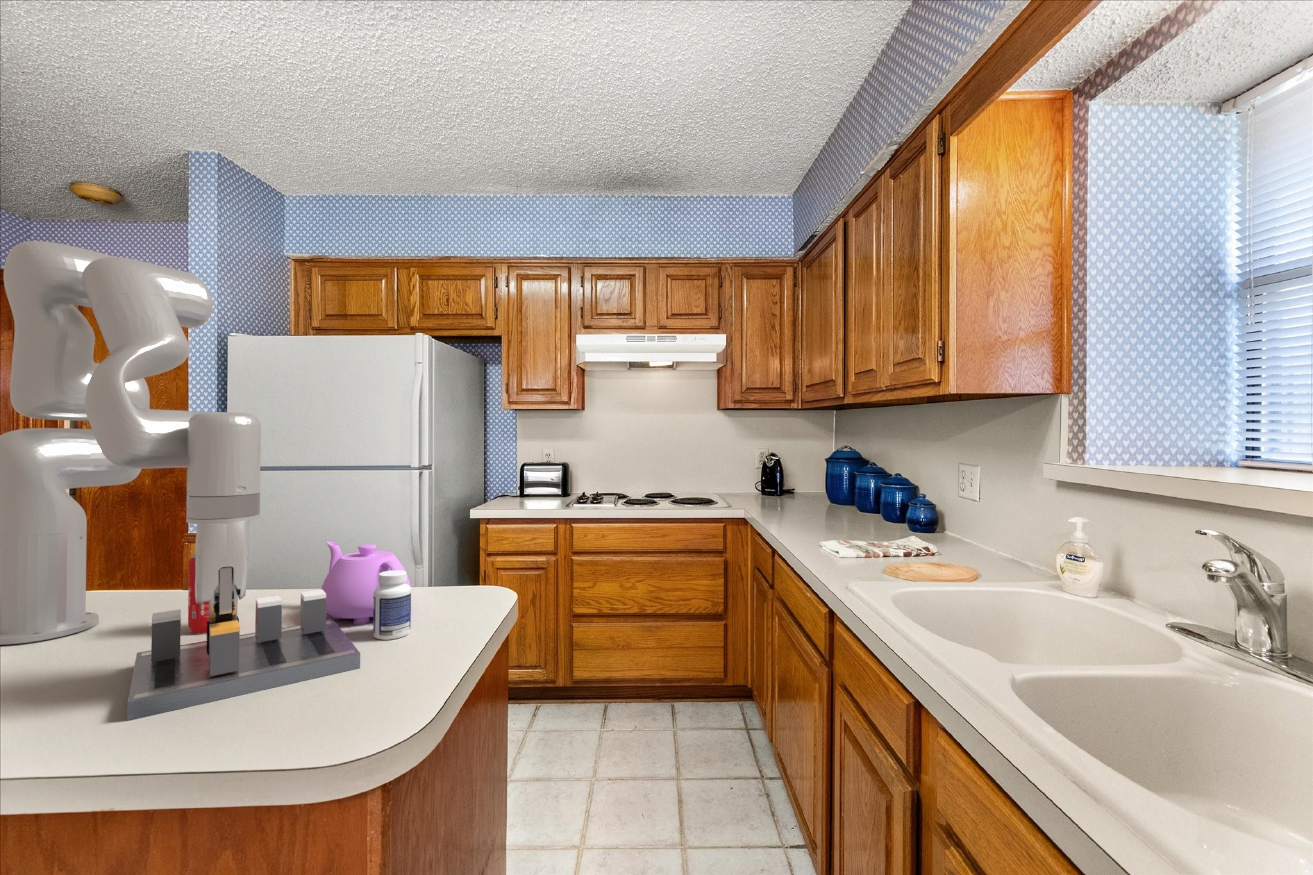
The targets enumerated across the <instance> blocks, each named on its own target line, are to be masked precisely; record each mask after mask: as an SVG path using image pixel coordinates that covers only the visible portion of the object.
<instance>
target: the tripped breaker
mask: <svg viewBox="0 0 1313 875" xmlns="http://www.w3.org/2000/svg"><path fill="white" fill-rule="evenodd" d="M240 627H241V626H240V622H239V623H238V620H235V621H228V622H222V623H216V624H210V628H209V673H210V676H214V675H219V674H224V673H229V672H234V671H239V639H240V635H241V633H240Z"/></svg>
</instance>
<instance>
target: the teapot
mask: <svg viewBox="0 0 1313 875" xmlns="http://www.w3.org/2000/svg"><path fill="white" fill-rule="evenodd" d="M326 545H327V546H328V548H329V550H330V560H329V561H330V563H329V567H328V573H327V575H326V577H325V579H324V581H323V583H322V584H321V589H320V590H323V591H324V592H325V593H326V614H328V615H329V616H331V619H333V620H340V619H353V625H357V626H358V625H365V624H368V623H370V618H373V595H374V590H375V589H376V588H377V587H379V586H380V584H379V582H378V580H379V573H381V572H385V571H392V570H403V571H406V569H405V567H404V566H403V564H402V563H401V562H400V560H399V558H397V556H396V555H395V554H394V553H393V552H391V551H386V550H376V549H377V545H376V544H371V543H369V544H368V543H367V544H360V545H359V546H357V549H358V551H356V552H350V553H346V554H343V553H342V550H341V548H340V546H339V545H338V544H337V543H336V542H334V541H330V540H326ZM405 584H407V585H409V586H410V587H411V588H412V586H411V582H410V578H409V576H408V574H407V579H406V582H405Z"/></svg>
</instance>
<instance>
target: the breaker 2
mask: <svg viewBox="0 0 1313 875" xmlns="http://www.w3.org/2000/svg"><path fill="white" fill-rule="evenodd" d="M282 615H283V600H282V598H281V596H280V595H274V596H273V595H272V596H266V597H260V598H259V597H258V598H255V626H254V627H255V631H254V633H255V638H256V640H257V643H259V642H264V641H270V640H275V639H281V637H282V628H283V627H282V626H283V625H282V624H283V616H282Z"/></svg>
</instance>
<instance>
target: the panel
mask: <svg viewBox="0 0 1313 875" xmlns="http://www.w3.org/2000/svg"><path fill="white" fill-rule="evenodd" d="M135 656H136V657H135V661H134V666H133V672H132V676H131V683H130V687H129V688H130V689H129V693H128V698H127V711H126V712H127V715H126V717H127V718H126V719H127V721H131V720H136V719H139V718H144V717H145V718H146V717H149V716H153V715H158V714H163V713H166V712H167V713H168V712H171V711H176V710H180V709H184V708H185V709H186V708H189V707H193V706H197V705H202V704H207V703H210V702H215V701H220V700H224V699H228V698H233V697H236V696H237V697H238V696H242V695H247V694H250V693H255V692H260V691H263V690H269V689H272V688H277V687H283V686H287V685H290V684H294V683H299V682H303V681H309V680H313V679H317V678H321V677H326V676H329V675H331V676H332V675H335V674H339V673H342V672H348V671H351V670H352V671H353V670H356V669H361V652H360V651H359V649H358V648H357V647H356V646H355V644H353V642H352V641H351V640H350V638H349V637H348V636H347V635H346V633H345V632H344V631H343V630H342V629H341V628H340V626H339V625H338V624H337V623H336V621H335V619H333V618H331V619H326V630H325V631H319V632H314V633H308V634H303V632H302V631H301V629H300V624H296V625H291V626H290V625H289V626H284V627H282V637H281V639H275V640H270V641H264V642H259V643H257V640H256V638H255V632H251V633H249V632H248V633H245V634H244V633H243V634H240V639H239V671H234V672H229V673H224V674H219V675H214V676H210V673H209V655H208V654H207V640H204V641H197V642H191V643H186V644H180V657H176V658H171V659H165V660H160V661H154V662H151V649H150V650H144V651H139V652H136V655H135ZM308 679H309V680H308Z"/></svg>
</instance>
